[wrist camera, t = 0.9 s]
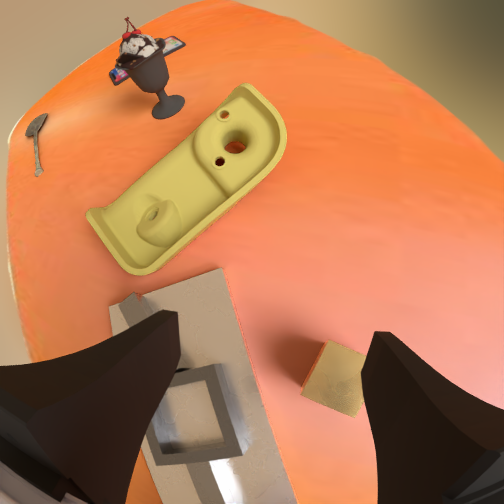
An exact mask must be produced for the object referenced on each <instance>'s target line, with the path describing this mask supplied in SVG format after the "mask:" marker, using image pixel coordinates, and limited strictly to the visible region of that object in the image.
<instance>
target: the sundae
mask: <svg viewBox="0 0 504 504" xmlns="http://www.w3.org/2000/svg"><path fill="white" fill-rule="evenodd" d="M128 19H129V17H127V18H125V20H126V21H129V20H128ZM129 23H130V24H131V22H130V21H129ZM127 24H128V22H127ZM131 26H132V27H133V28H134V31H132V33H131V32H128V25H127V31H126V33H124V34H123V35H122V38H123V41H122V43H121V44H120V49H119V52H120V56H119V57H118V59H116V65H115V67H116V68H117V69H121V70H124V71H125V72H126V73H127V74H128V75H129V76H130V77H131V79H132V80H133V81H134V82H135V83H136V85H137V86H138V87H139V88H140V89H141V90H143V91H144V92H148V93H156V94H157V96H158V98H159V101H160V102H158V103H157V104H156V105H155V106H154V108H153V110H152V115H153V117H154V118H157V119H165V118H168V117H171V116H173V115H174V114H176V113H177V112H179V111H180V110H181V108H182V107H183V106H184V103H185V100H184V98H183V97H182V96H180V95H172V96H167V94H166V93H165V91H164V87H165V86H166V84H167V82H168V79H169V74H168V69H167V65H166V62H165V59H164V55H163V49H164V48H165V46H166V43H165V40H164V39H162V38H156V39H153V38H152V37H150V36H149V35H144V34H141V31H140V30H136V29H135V27H134V26H133V25H132V24H131ZM140 34H141V35H140Z"/></svg>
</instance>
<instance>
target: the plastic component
mask: <svg viewBox="0 0 504 504" xmlns="http://www.w3.org/2000/svg"><path fill="white" fill-rule="evenodd" d="M227 115H229V117H228V118H226V119H223V118H225V117H226V116H227ZM233 141H237V142H240V143H242V144H243V145H244V146H245V147H246V149H245V150H244V151H243V152H241V153H238V154H233V153H229V152H227V151H226V150H225V149H224V148H225V146H226V145H227V144H228V143H230V142H233ZM286 142H287V132H286V127H285V124H284V121H283V119H282V117H281V115H280V114H279V112H278V111H277V110H276V109H275V107H274V106H273V105H272V104H271V103H270V102H269V101H268V100H267V99H266V98H265V97H264V96H263V95H262V94H261V93H260V92H259V91H257V90H256V89H255V88H254V87H253V86H252V85H251V84H249V83H243V84H241V85H239V86H238V87H236V88H235V89H234V90H233V91H232V93H231V94H230V95H229V96H228V97H227V98H226V99H225V100H224V102H223V103H222V104H221V105H220V106H219V107H218V108H217V109H216V110H215V111H214V112H213V113H212V114H211V115H210V116H209V117H208V118H206V119H205V120H204V121H203V122H202V123H201V124H200V126H199V127H198V128H197V129H195V130H194V131H193V132H192V133H191V134H190V135H189V136H188V137H187V138H186V139H185V140H183V141H182V142H181V143H180V144H179V145H178V146H177V147H175V148H174V149H173V150H172V151H171V152H169V153H168V154H167V155H166V156H164V157H163V158H162V159H161V160H160V161H159V162H157V163H156V164H155V165H154V166H153V167H152V168H150V169H149V170H148V171H147V172H146V173H145V174H144V175H142V176H141V177H140V178H139V179H138V180H137V181H136V182H135V183H134V184H132V185H131V186H130V187H129V188H128V189H127V190H126V191H125V192H124V193H123V194H122V195H121V196H120V197H119V198H118V199H117V200H115V201H114V202H113V203H111V204H110V205H108V206H106V207H101V208H90V209H89V210H88V211H87V212H86V218H87V220H88V221H89V223H90V224H91V226H92V227H93V229H94V230H95V231H96V233H97V234H98V236H99V237H100V239H101V240H102V241H103V243H104V244H105V246H106V247H107V248H108V250H109V251H110V253H111V254H112V255H113V257H114V258H115V259H116V261H117V262H118V263H119V265H120V266H121V267H122V268H123V269H124V270H125V271H126V272H128V273H130V274H133V275H138V276H140V275H147V274H150V273H152V272H155V271H157V270H159V269H161V268H162V267H163V266H165V265H166V264H167V263H168V262H169V261H170V260H171V259H173V258H174V257H175V256H176V255H177V254H178V253H179V252H181V251H182V250H183V249H184V248H185V247H186V246H188V245H189V244H190V243H191V242H192V241H193V240H195V239H196V238H197V237H198V236H199V235H200V234H202V233H203V232H204V231H205V230H206V229H208V228H209V227H210V226H211V225H212V224H213V223H215V222H216V221H217V220H218V219H219V218H221V217H222V216H223V215H224V214H226V213H227V212H228V211H229V210H230V209H232V208H233V207H234V206H235V205H236V204H237V202H238V201H239V200H240V199H242V198H243V197H244V196H246V195H247V194H248V193H249V192H250V191H251V190H252V189H254V188H255V187H256V186H257V185H258V184H259V183H260V182H261V181H262V180H263V179H264V178H265V177H266V176H267V175H268V174H269V173H270V172H271V170H272V169H273V168H274V167H275V166H276V165H277V163H278V162H279V160H280V159H281V157H282V155H283V153H284V150H285V148H286ZM219 158H221V159H224V161H225V163H224V165H222V166H217V165H216V164H215V161H216V160H217V159H219ZM155 216H156V217H155ZM154 217H155V218H154Z"/></svg>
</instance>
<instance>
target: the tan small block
mask: <svg viewBox="0 0 504 504" xmlns="http://www.w3.org/2000/svg"><path fill="white" fill-rule="evenodd" d="M365 359H366V356H365V355H363V354H360V353H358V352H356V351H354V350H351V349H349V348H347V347H344V346H342V345H340V344H338V343H336V342H333V341H331V340H328V341H326V342H325V343H324V344H323V346H322V348H321V350H320V352H319V354H318V356H317V358H316V360H315V362H314V364H313V366H312V368H311V370H310V372H309V373H308V375H307V377H306V379H305V381H304V383H303V385H302V387H301V394H300V395H302V396H304V397H307V398H309V399H311V400H313V401H315V402H318V403H320V404H322V405H324V406H327V407H329V408H331V409H334V410H336V411H339V412H341V413H343V414H346V415H348V416H351V417H353V418H355V417H356V415H357V413H358V412H359V410H360V408H361V406H362V404H363V402H364V398H363V391H362V383H361V370H362V368H363V365H364V362H365Z"/></svg>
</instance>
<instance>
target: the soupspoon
mask: <svg viewBox="0 0 504 504" xmlns="http://www.w3.org/2000/svg"><path fill="white" fill-rule="evenodd" d="M47 114H48V113H45V114H42V115H40V116H38V117H37V118H35V119H34V120H33V121H32V122H31V123H30V125H29V126H28V128H27V130H26V134H25V136H31V135H34V150H35V159H36V162H35V164H36V172H35V176H36V177H38V176H39V175H40V174H41V173H42V172H43V169H41V166H40V161H39V157H38V145H37V133H38V130H39V129H40V127H41V125H42V123H43V121H44V119H45V118H46V116H47Z"/></svg>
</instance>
